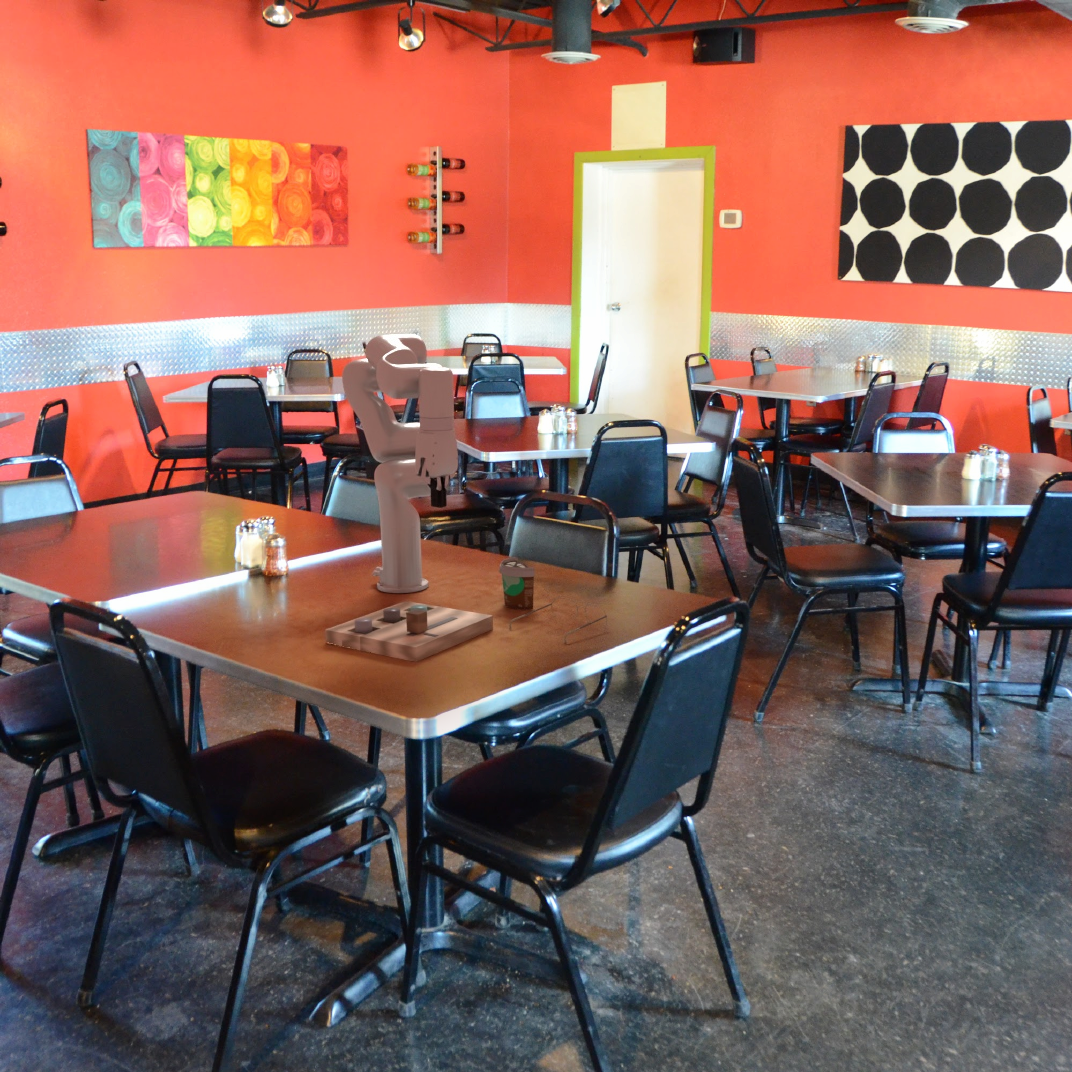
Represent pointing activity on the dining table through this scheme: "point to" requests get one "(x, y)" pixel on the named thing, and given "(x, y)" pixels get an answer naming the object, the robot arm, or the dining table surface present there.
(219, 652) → the dining table surface
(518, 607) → the food container
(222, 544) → the dining table surface
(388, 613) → the charcoal button
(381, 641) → the control panel
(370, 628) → the slate button
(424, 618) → the walnut slider
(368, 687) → the dining table surface
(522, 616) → the eyeglasses
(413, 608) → the teal button
